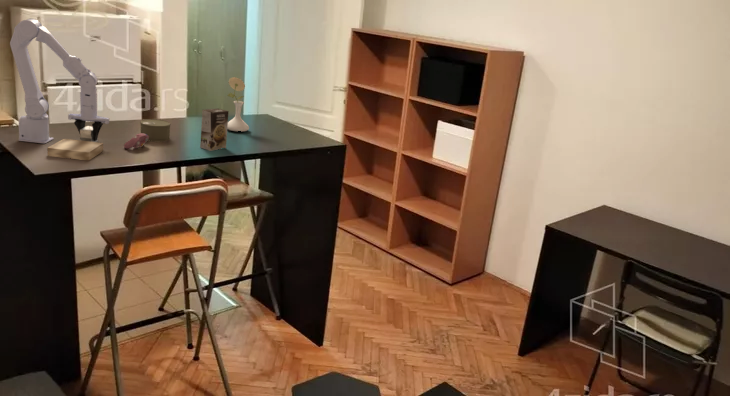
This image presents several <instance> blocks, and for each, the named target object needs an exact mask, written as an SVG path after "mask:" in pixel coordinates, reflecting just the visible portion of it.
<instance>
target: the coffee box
mask: <svg viewBox="0 0 730 396" xmlns="http://www.w3.org/2000/svg"><path fill="white" fill-rule="evenodd" d="M228 122H229V110H226V109H221V108H207V109H202V112H201V126H200V127H201V129H200V142H199V143H200V146H199V148H201V149H203V150H206V151H209V152H211V151H218V149H219V150H222V149H221V148H225V149H226V148H227V140H228V129H227V126H228Z"/></svg>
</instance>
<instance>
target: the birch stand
mask: <svg viewBox="0 0 730 396" xmlns="http://www.w3.org/2000/svg"><path fill="white" fill-rule="evenodd" d="M46 150H47V157H51V158H52V157H53V158H61V159H62V158H63V159H70V158H71V160H80V161H89V162H90V161H91V160H92V159H94V158H95V157H97V156H98V155H100V154H101V153H102V152H104V143H103V142H99V141H98V142H90V141H81V140H80V139H71V138H63V139H61V140H59V141H57V142H55V143H53V144H51V145H49V146H48V147H47V149H46Z"/></svg>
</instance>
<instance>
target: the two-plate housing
mask: <svg viewBox="0 0 730 396" xmlns="http://www.w3.org/2000/svg"><path fill="white" fill-rule="evenodd" d="M79 140H81V141H90V142H98V143H99V137H98V138H97V140H96V141H93V127H92V125H85V127H84V128H82V129H80V134H79Z"/></svg>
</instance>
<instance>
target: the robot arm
mask: <svg viewBox="0 0 730 396" xmlns="http://www.w3.org/2000/svg"><path fill="white" fill-rule="evenodd" d="M34 39H35V41H37V42H40V43H43V44H46V46H47V47H48V48H49V49H50V50H52V51H53V52H54V54H56V55H57V57H59V58H60V60H62V66H63V67H64V69H65V70H67V72H68V73H69V74H71V76H72V77H73V78H74V80H77V81H78V85H79V87H80V92H79V98H80V101H79V103H80V104H79V105H80V107H79V109H80V113H69V114H68V115H67V118H68V120H69V121H72V120H74V122H73V124H74V125H75V127H76V129H77V131H78V133H79V135H80V129H82V128H84V127H86V122H90V123H91V122H92V123H91V126H92V127H93V141H96V140H97V138H98V139H99V134H100V132H101V128H102V127H103V125H105V124H106V125H108V124H110V118H109V117H104V116H99V115H98V94H97V84H98V77H97V75H96V74H95V73H94V72H92V70H91V69H90V68H87V66H86V65H85V64H84V63H83V62H82V61H83V60H82V59H81V57H77V56H76V55H71V54H70V53H69V52H68V51H67V50H66V49H65V48H64V46H63V45H62V44H61V43H60V42H59V41H58V39H56V38H55V36H54V34H52V32H51V31H50V30H48V28H47V27H45V26H44V25H42V23H41V22H40V21H39V20H38V19H36V18H32V17H31V18H27V19H24V20H21V21H19V22H18V23H17V24H16V25H15V26H14V29H13V33H12V35H11V39H10V42H9V46H10V49H11V52H12V56H13V59H14V62H15V66H16V68H17V71H18V75H19V78H20V79H19V80H20V81H21V84H22V88H23V91H24V102H25V107H24V111H25V114H26V115H21V116H20V117H19V120H18V141H20V142H27V143H36V144H37V143H38V144H47V143H49V142H51V141H53V140H54V137H50V123H49V122H50V121H49V119H50V118H49V115H48V114H47V112H48V110H49V108H50V103H49V102H48V100H47V99H45V97H44V95H43V92H42V91H41V89H40V87H39V82H38V79H37V76H36V72H35V70H34V66H33V65H34V64H33V62H32V58H31V55H30V53H29V49H28V46H29V45H30V44H31V42H32V41H33V40H34Z"/></svg>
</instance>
